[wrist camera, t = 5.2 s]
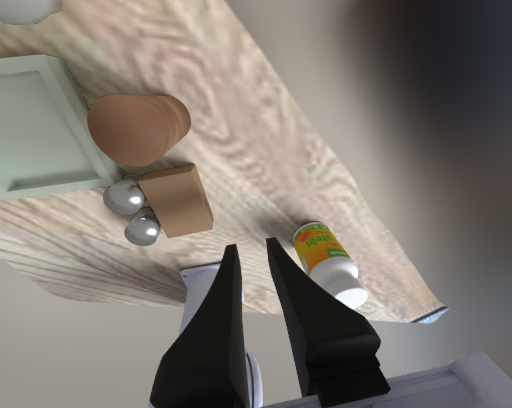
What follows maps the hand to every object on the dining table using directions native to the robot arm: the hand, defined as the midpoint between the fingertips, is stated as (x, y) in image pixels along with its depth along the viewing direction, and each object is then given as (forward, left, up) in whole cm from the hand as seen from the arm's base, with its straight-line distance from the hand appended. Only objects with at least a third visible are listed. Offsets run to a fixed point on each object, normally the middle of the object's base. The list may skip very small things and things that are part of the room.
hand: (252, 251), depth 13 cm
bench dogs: (0, +11, -10) cm, 15 cm away
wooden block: (0, +7, -10) cm, 12 cm away
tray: (+8, +17, -10) cm, 21 cm away
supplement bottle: (-9, -8, -10) cm, 16 cm away
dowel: (+8, +6, -10) cm, 14 cm away
